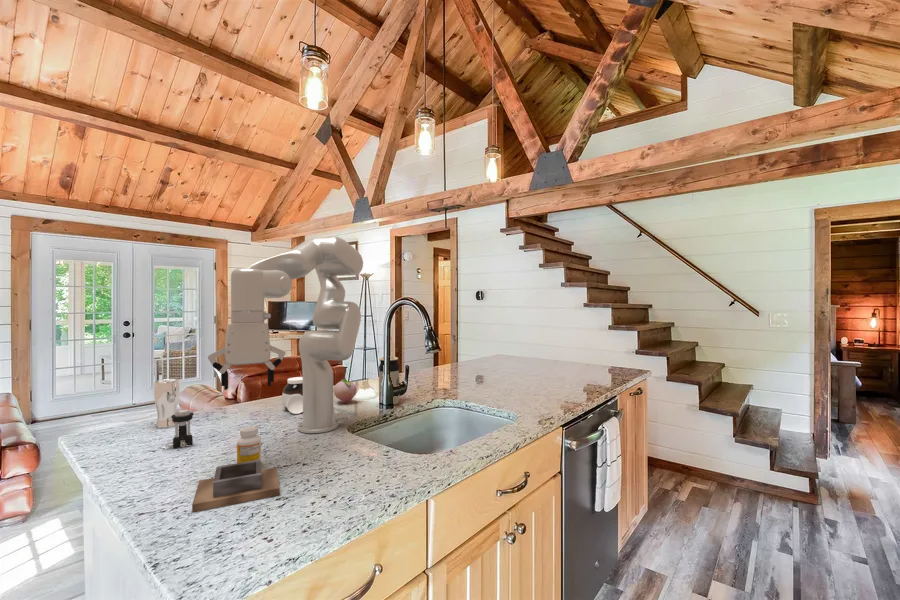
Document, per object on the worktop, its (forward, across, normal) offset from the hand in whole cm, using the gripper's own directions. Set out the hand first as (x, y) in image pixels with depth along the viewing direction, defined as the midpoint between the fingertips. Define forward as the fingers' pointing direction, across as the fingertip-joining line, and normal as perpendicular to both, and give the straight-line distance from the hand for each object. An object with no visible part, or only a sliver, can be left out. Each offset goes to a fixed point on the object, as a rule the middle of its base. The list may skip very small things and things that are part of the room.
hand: (248, 387), depth 103 cm
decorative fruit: (+20, -34, -53) cm, 66 cm away
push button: (+20, +18, -25) cm, 37 cm away
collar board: (+20, +2, +13) cm, 24 cm away
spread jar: (+20, -16, -50) cm, 56 cm away
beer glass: (+20, +25, -50) cm, 60 cm away
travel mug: (+20, -50, -45) cm, 70 cm away
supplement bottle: (+20, 0, 0) cm, 20 cm away
